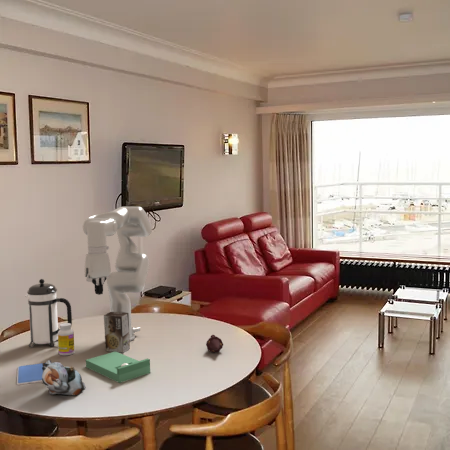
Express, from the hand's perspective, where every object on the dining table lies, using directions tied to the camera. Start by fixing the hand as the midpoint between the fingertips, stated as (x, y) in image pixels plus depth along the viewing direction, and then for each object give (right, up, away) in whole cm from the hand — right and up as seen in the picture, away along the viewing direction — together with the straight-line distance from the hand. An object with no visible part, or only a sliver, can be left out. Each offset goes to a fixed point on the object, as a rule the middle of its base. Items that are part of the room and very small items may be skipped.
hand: (99, 293), depth 234 cm
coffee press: (-28, -26, +22) cm, 44 cm away
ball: (+13, -27, -16) cm, 34 cm away
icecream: (+48, -26, +7) cm, 55 cm away
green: (+10, -28, -13) cm, 33 cm away
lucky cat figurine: (-5, -31, -34) cm, 46 cm away
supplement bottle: (-16, -27, +8) cm, 32 cm away
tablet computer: (-22, -30, -16) cm, 40 cm away
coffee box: (+6, -26, +12) cm, 29 cm away
